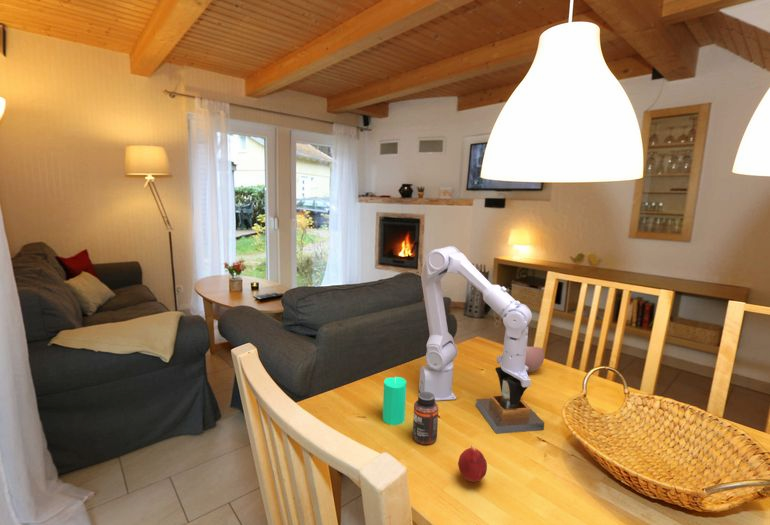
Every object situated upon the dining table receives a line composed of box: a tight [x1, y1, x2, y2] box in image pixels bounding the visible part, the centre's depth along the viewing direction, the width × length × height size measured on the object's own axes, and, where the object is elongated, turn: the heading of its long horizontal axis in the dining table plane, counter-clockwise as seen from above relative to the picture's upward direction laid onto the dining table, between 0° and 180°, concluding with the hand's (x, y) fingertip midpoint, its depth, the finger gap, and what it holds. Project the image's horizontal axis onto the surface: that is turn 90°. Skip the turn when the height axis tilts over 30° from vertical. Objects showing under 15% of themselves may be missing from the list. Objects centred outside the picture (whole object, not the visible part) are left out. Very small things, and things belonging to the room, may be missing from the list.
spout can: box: [500, 377, 518, 409], centre depth 103 cm, size 6×4×7 cm
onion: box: [457, 444, 488, 483], centre depth 80 cm, size 6×6×8 cm
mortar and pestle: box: [525, 345, 545, 373], centre depth 132 cm, size 12×12×11 cm
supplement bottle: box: [412, 392, 439, 445], centre depth 93 cm, size 6×6×11 cm
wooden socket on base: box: [475, 394, 545, 435], centre depth 104 cm, size 13×13×4 cm
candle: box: [382, 376, 407, 426], centre depth 101 cm, size 6×6×12 cm
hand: (509, 398), depth 103 cm, fingers closed on spout can, 4 cm apart
